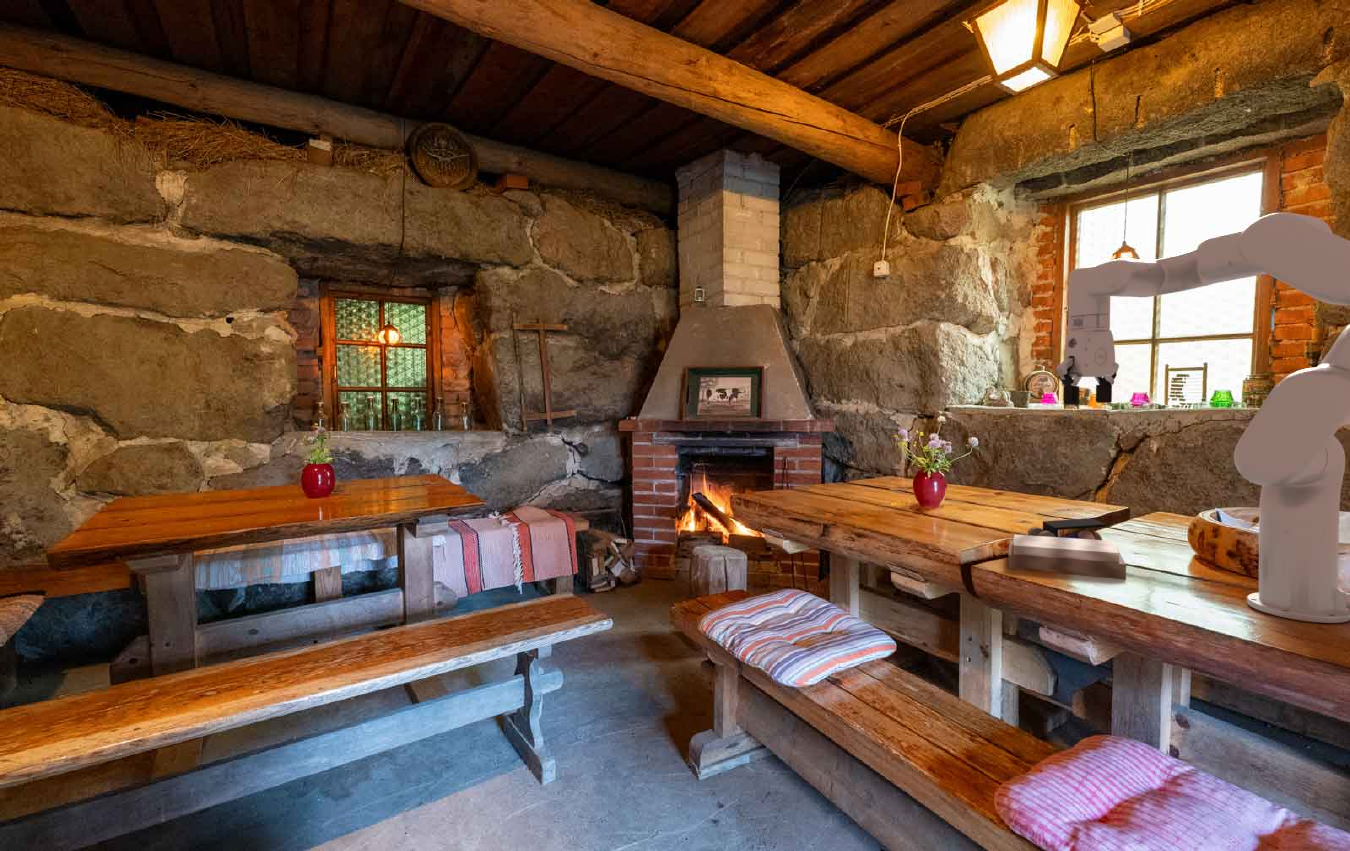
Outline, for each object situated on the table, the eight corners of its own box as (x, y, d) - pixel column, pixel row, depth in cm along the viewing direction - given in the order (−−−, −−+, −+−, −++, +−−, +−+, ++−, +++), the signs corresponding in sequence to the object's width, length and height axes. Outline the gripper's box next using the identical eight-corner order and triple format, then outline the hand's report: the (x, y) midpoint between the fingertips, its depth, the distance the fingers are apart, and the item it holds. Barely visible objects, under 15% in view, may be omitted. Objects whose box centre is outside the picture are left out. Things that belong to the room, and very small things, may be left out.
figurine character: (1043, 561, 145) (1110, 552, 144) (1039, 529, 145) (1106, 520, 144) (1029, 553, 152) (1093, 545, 151) (1025, 523, 152) (1089, 514, 150)
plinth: (1117, 562, 137) (1117, 540, 136) (1126, 578, 125) (1125, 554, 125) (1010, 553, 147) (1009, 533, 147) (1008, 568, 136) (1008, 546, 135)
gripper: (1075, 323, 127) (1074, 406, 128) (1134, 323, 133) (1133, 402, 134) (1043, 326, 134) (1042, 405, 135) (1100, 326, 140) (1099, 401, 141)
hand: (1087, 403), depth 135 cm, fingers open, 9 cm apart
